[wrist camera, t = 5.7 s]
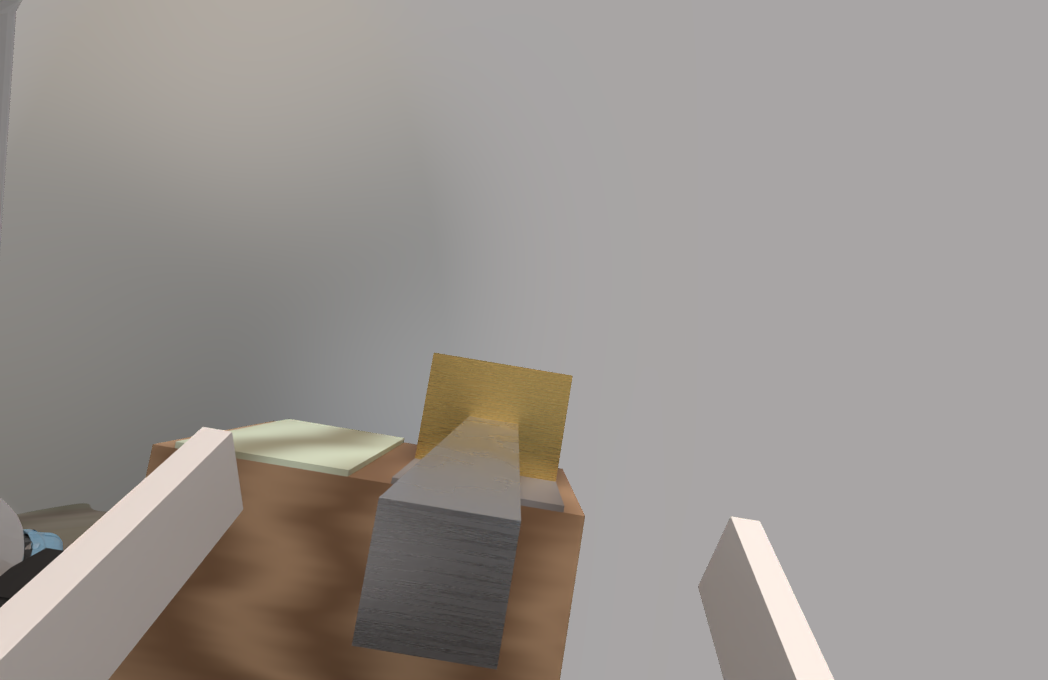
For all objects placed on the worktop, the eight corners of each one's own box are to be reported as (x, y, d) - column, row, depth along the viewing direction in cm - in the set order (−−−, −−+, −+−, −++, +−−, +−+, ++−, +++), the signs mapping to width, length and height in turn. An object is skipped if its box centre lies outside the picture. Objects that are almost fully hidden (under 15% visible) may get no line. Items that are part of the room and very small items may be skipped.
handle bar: (216, 623, 9) (279, 313, 10) (433, 442, 33) (448, 356, 34) (631, 692, 9) (676, 380, 10) (548, 462, 33) (562, 375, 34)
